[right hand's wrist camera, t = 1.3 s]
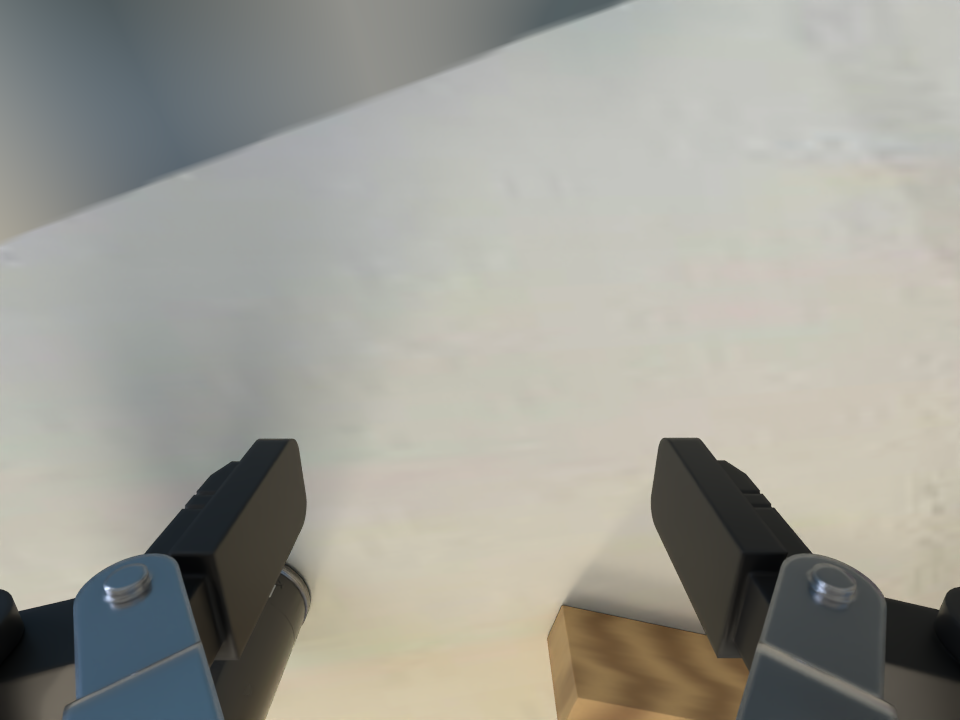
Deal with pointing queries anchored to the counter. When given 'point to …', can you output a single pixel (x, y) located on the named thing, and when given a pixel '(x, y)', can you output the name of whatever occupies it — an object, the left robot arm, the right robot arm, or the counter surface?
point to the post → (638, 671)
